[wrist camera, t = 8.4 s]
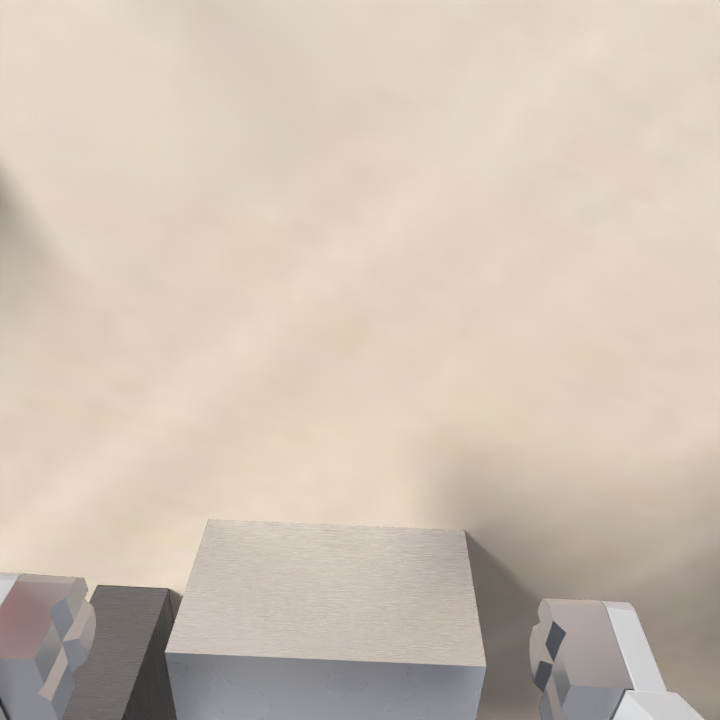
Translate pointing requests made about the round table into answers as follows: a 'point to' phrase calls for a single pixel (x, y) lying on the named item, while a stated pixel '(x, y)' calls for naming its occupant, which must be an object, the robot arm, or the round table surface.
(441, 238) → the round table surface
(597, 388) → the round table surface
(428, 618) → the brushed aluminum block
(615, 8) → the round table surface
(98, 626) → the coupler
